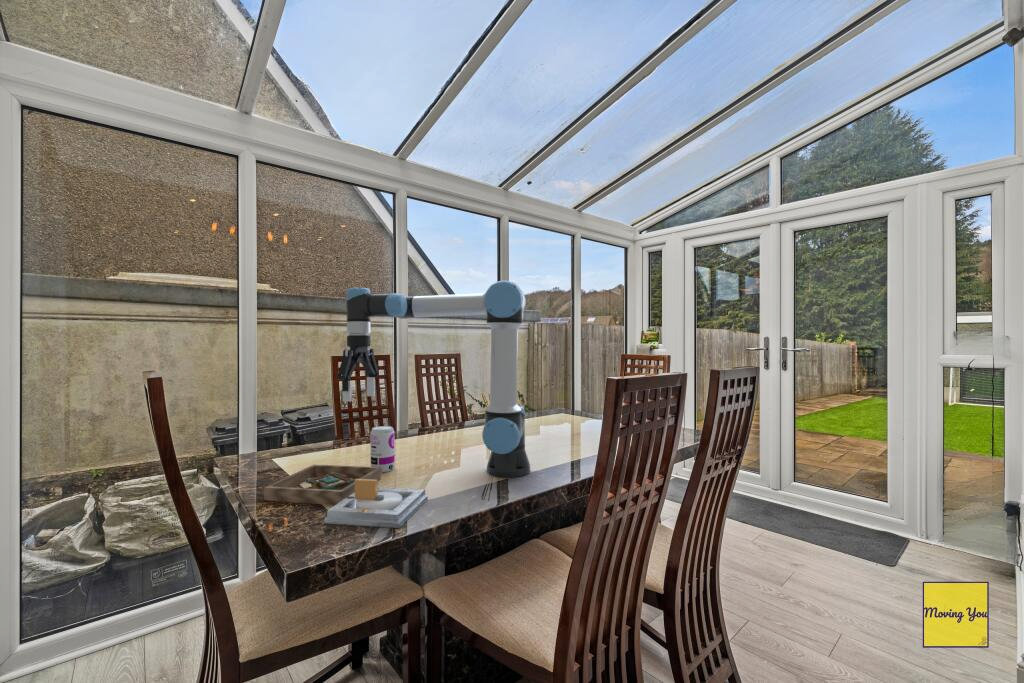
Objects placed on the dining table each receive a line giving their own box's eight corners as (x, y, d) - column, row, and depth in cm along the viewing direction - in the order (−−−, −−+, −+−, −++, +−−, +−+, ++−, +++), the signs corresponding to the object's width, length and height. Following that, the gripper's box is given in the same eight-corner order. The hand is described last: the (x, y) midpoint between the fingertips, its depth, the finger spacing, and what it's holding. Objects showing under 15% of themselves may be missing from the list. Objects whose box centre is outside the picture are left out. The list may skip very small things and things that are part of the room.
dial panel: (427, 499, 133) (427, 488, 133) (399, 528, 113) (399, 514, 113) (362, 496, 136) (362, 485, 136) (324, 523, 116) (324, 510, 116)
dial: (409, 498, 130) (408, 474, 130) (390, 514, 118) (390, 488, 118) (366, 496, 132) (366, 473, 132) (344, 512, 120) (344, 486, 120)
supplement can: (398, 467, 167) (397, 425, 166) (389, 474, 158) (389, 430, 158) (376, 466, 167) (375, 425, 167) (366, 473, 159) (366, 430, 159)
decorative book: (330, 480, 153) (329, 465, 153) (360, 491, 142) (360, 475, 142) (289, 491, 142) (289, 475, 142) (318, 503, 131) (318, 486, 131)
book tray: (381, 479, 152) (381, 467, 152) (342, 506, 128) (342, 491, 128) (314, 476, 157) (314, 464, 157) (264, 501, 133) (263, 487, 132)
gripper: (369, 335, 166) (370, 393, 166) (324, 334, 142) (325, 403, 142) (388, 334, 164) (389, 394, 164) (345, 334, 140) (346, 404, 140)
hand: (359, 398), depth 153 cm, fingers open, 13 cm apart
